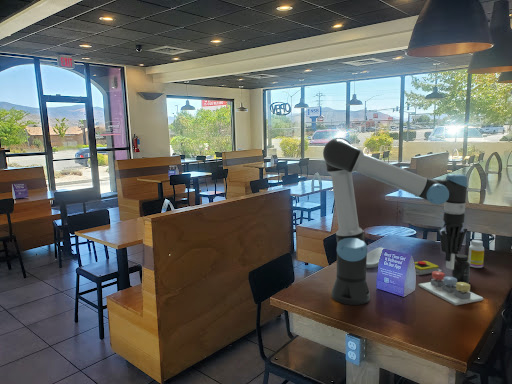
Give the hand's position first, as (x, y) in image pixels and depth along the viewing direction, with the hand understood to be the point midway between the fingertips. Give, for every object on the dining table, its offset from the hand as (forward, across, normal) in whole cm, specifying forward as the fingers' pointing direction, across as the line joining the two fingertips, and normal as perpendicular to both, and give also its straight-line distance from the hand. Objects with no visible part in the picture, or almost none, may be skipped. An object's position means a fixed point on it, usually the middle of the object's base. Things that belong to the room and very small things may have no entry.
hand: (449, 268), depth 158 cm
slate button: (+8, 0, 0) cm, 8 cm away
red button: (+8, 0, +6) cm, 10 cm away
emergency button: (+11, +9, +25) cm, 29 cm away
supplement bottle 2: (+11, +37, +21) cm, 44 cm away
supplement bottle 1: (+11, +14, +8) cm, 20 cm away
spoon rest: (+11, -7, +41) cm, 43 cm away
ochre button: (+8, 0, -7) cm, 11 cm away
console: (+11, 0, 0) cm, 11 cm away
